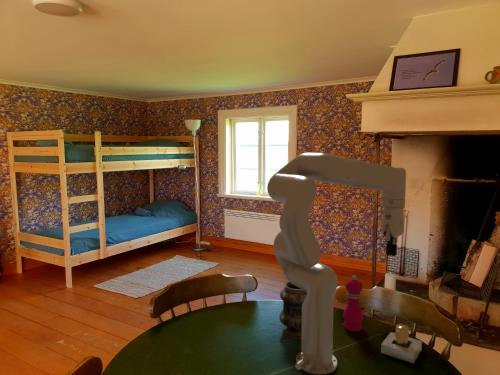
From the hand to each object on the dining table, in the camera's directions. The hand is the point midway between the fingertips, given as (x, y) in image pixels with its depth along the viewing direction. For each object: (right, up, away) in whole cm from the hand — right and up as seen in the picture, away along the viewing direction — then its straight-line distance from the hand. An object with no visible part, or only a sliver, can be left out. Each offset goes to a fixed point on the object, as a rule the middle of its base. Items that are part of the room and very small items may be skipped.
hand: (391, 254), depth 131 cm
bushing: (0, -30, -8) cm, 31 cm away
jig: (0, -30, -8) cm, 31 cm away
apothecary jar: (-33, -29, +4) cm, 44 cm away
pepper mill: (-11, -29, +8) cm, 32 cm away
